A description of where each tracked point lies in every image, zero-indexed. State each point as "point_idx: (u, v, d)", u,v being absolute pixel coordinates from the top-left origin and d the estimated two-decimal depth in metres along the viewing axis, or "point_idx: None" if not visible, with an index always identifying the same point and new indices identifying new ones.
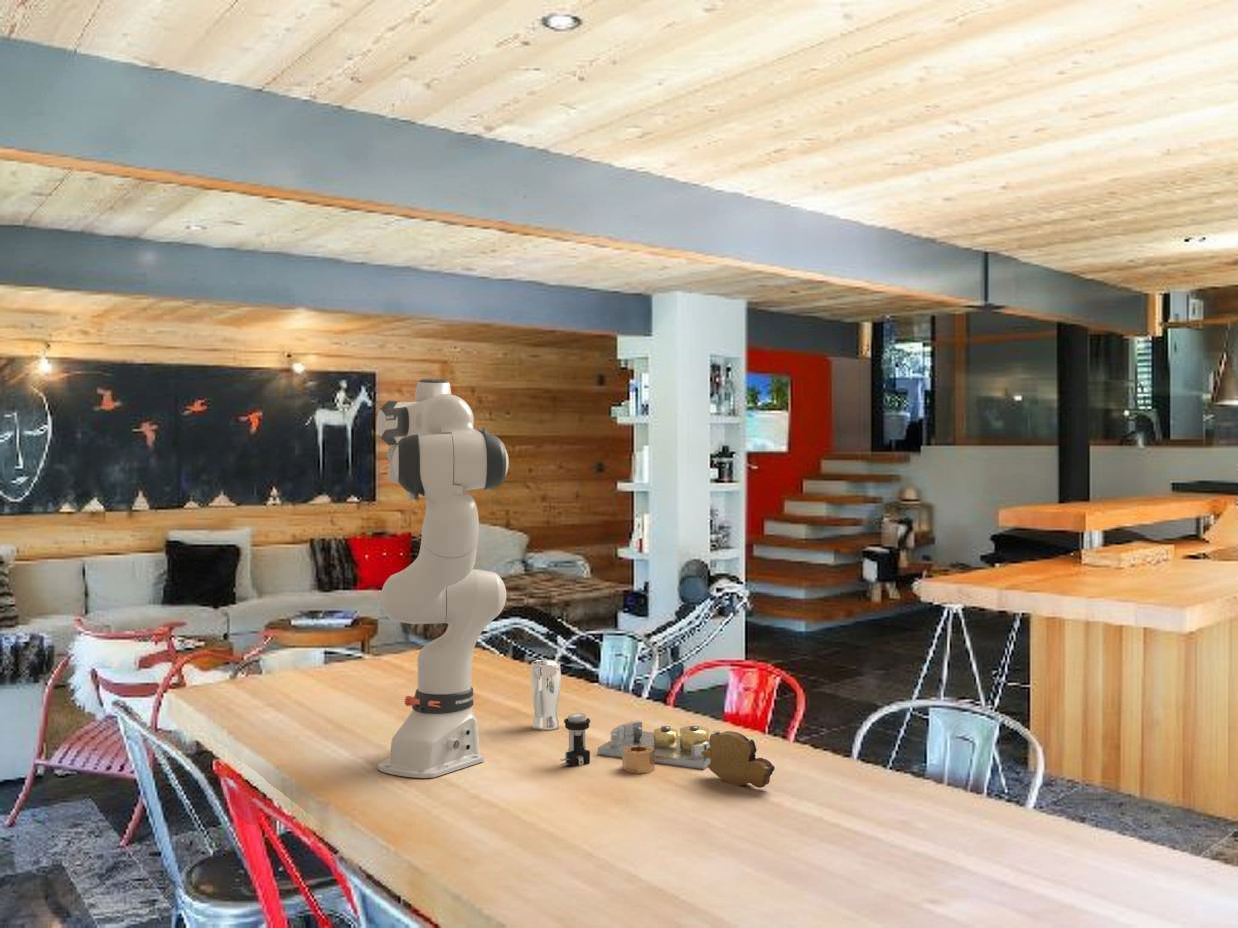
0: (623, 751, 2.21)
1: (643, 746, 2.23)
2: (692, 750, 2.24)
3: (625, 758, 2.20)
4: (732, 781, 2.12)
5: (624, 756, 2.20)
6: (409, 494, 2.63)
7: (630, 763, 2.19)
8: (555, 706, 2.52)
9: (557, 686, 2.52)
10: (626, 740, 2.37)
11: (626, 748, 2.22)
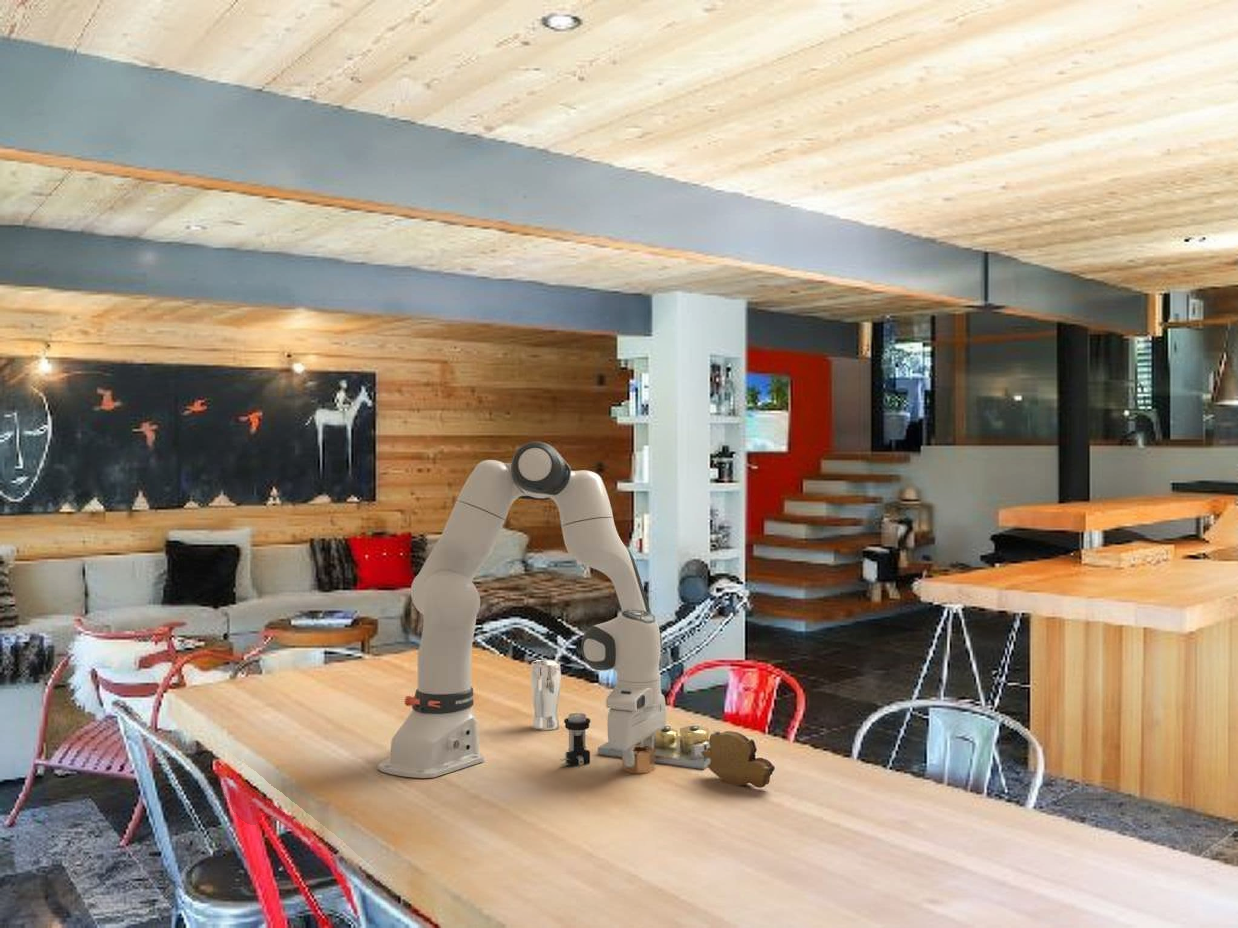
0: None
1: (643, 746, 2.23)
2: (692, 750, 2.24)
3: None
4: (732, 781, 2.12)
5: (624, 756, 2.20)
6: None
7: None
8: (555, 706, 2.52)
9: (557, 686, 2.52)
10: None
11: None
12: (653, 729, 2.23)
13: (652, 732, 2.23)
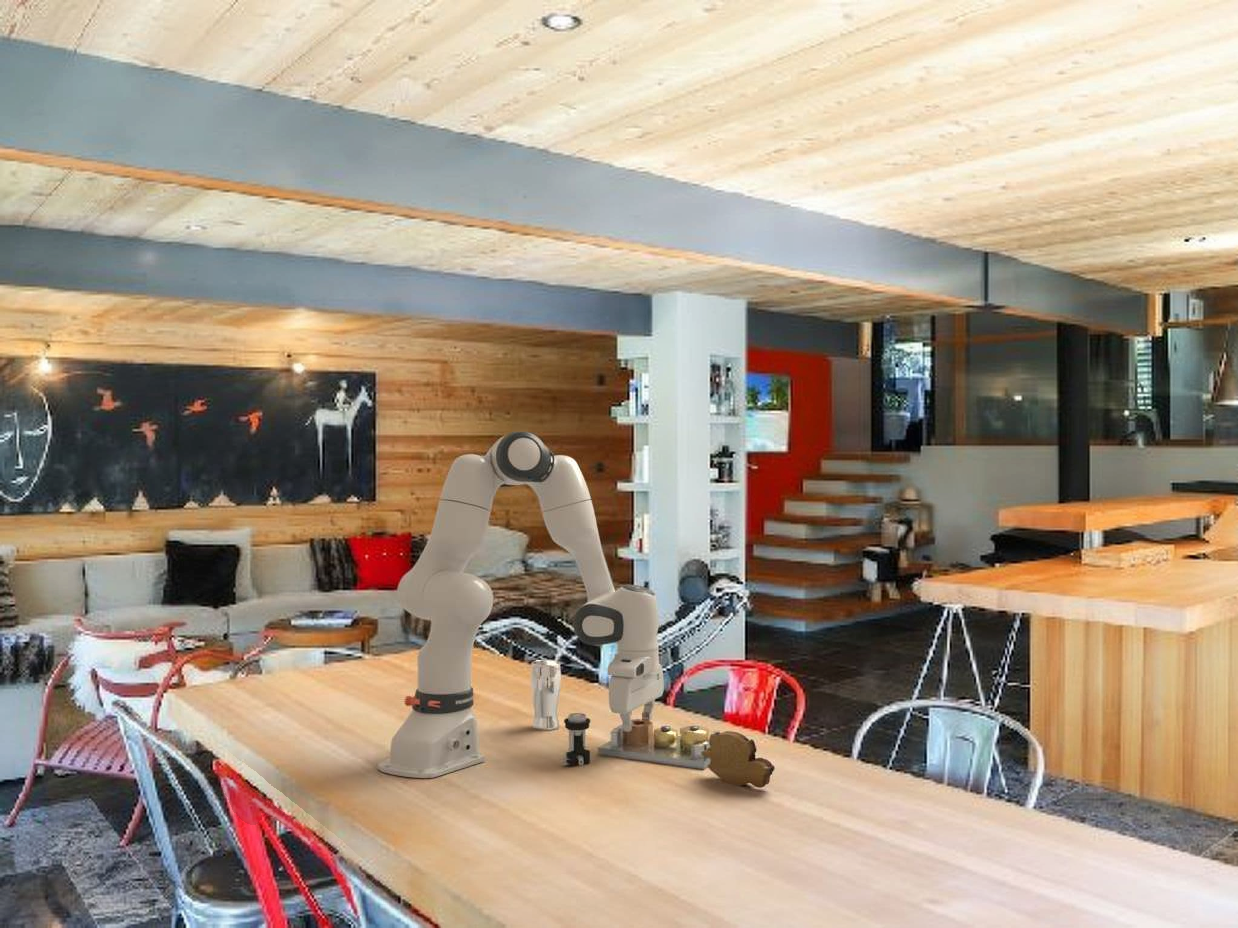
0: None
1: (642, 720, 2.38)
2: (692, 750, 2.24)
3: (625, 731, 2.35)
4: (732, 781, 2.12)
5: None
6: None
7: (630, 736, 2.34)
8: (555, 706, 2.52)
9: (557, 686, 2.52)
10: None
11: None
12: (651, 696, 2.38)
13: (650, 699, 2.38)
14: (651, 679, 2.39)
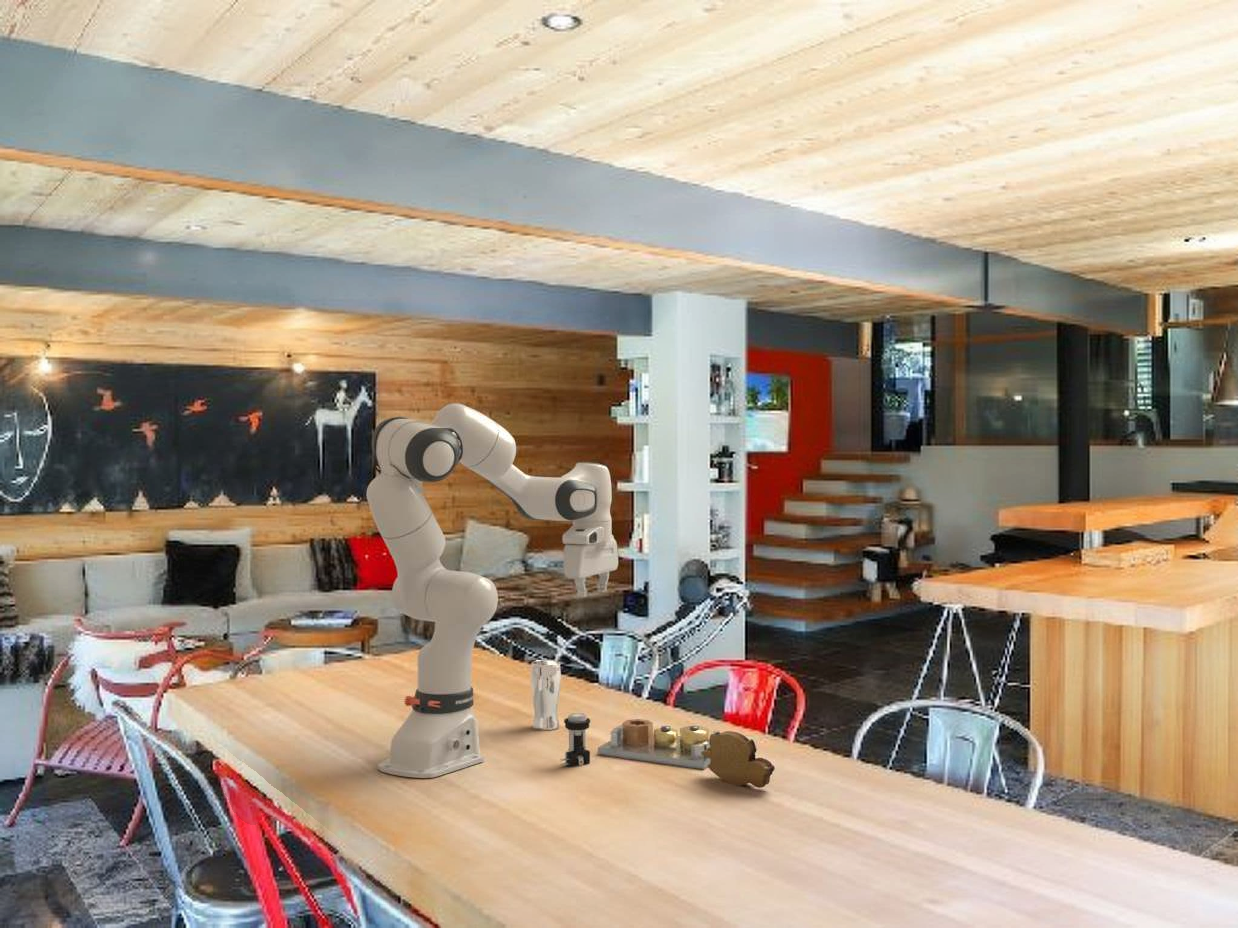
0: (623, 725, 2.36)
1: (642, 720, 2.38)
2: (692, 750, 2.24)
3: (625, 731, 2.35)
4: (732, 781, 2.12)
5: (624, 729, 2.35)
6: None
7: (630, 736, 2.34)
8: (555, 706, 2.52)
9: (557, 686, 2.52)
10: None
11: (626, 722, 2.37)
12: (605, 567, 2.52)
13: (604, 570, 2.52)
14: (605, 552, 2.53)
